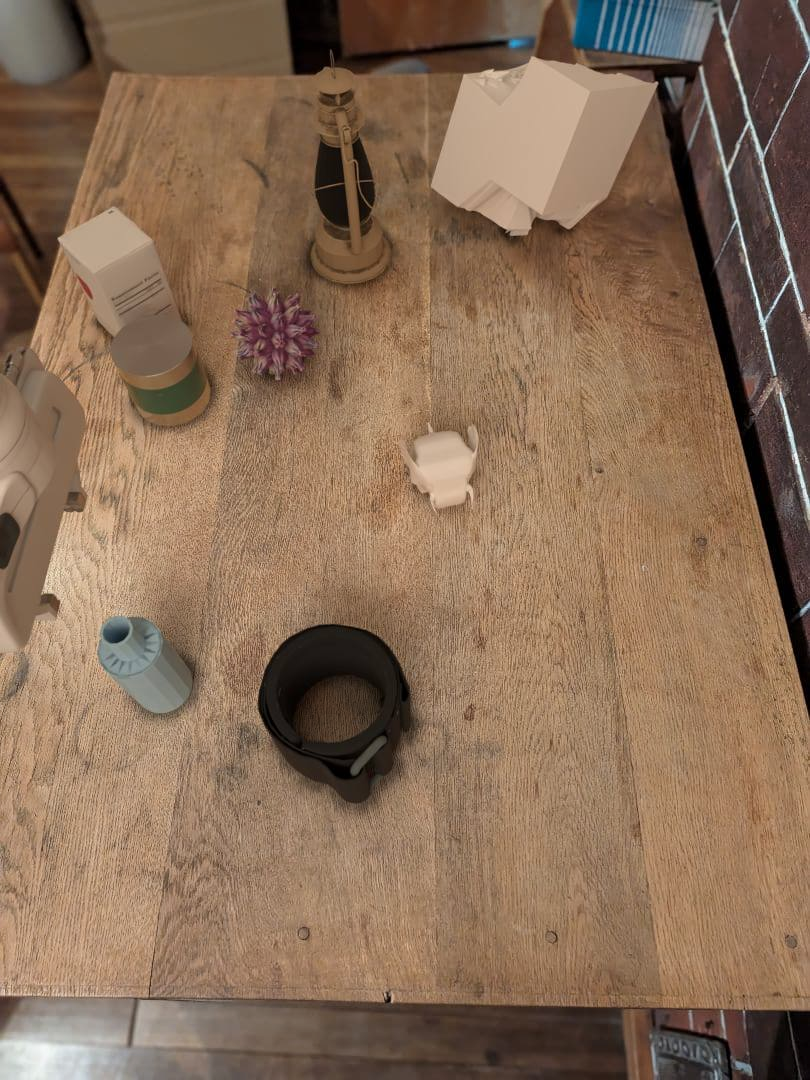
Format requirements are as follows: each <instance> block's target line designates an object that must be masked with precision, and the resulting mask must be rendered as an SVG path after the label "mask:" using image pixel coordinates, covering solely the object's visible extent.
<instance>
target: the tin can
mask: <svg viewBox="0 0 810 1080" xmlns="http://www.w3.org/2000/svg"><path fill="white" fill-rule="evenodd" d="M110 357H111V360H112V362H113V365H114V366H115V368H116V369H117V373H118V375H119V377H120V378H121V380H122V383H123V385H124V387H125V389H126V391H127V392H128V394H129V396H130V399H131V400H132V402H133V404H134V406H135V408H136V410H137V411H138V413H139V415H140V416H141V417H142V418H143V419H144V420H146V421H147V422H149V423H150V424H152V425H156V426H160V427H175V426H176V427H177V426H180V425H184V424H187V423H188V422H190V421H193V420H194V419H196V418H197V417H199V416H200V415H201V414H202V413H203V412H204V410H206V408H207V406H208V405H209V402H210V399H211V397H212V396H211V393H212V390H211V385H210V381H209V379H208V376H207V372H206V369H205V367H204V364H203V361H202V358H201V355H200V353H199V350H198V348H197V345H196V343H195V340H194V337H193V334H192V332H191V330H190V328H189V326H188V325H186V323H185V322H183V320H182V321H180V320H179V319H177V318H175V317H172V316H168V315H148V316H144V317H141V318H138V319H135V320H133V321H131V322H130V323H128V324H127V325H125V326H124V327H123V328H122V329H121V330H120V331H119V332H118V333H117V334H116V336H115V337H113V339H112V342H111V345H110Z"/></svg>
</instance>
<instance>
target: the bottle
mask: <svg viewBox="0 0 810 1080" xmlns="http://www.w3.org/2000/svg"><path fill="white" fill-rule="evenodd" d="M99 631H100V632H99V637H100V639H99V641H98V646H97V650H96V653H97V659H98V663H99V664H100V666H101V667H102V669H103V670H104V671H105V672H106V673H107V674H108V675H109V676H110V677H111V678H112V679H113V680H114V681H115V682H116V683H117V684H118V685H119V686H120V687H121V688H122V689H123V690H124V691H125V692H126V693H127V694H128V695H130V696H131V697H132V698H133V699H134V700H135V702H137V703H138V705H140V706H141V707H142V708H144V709H145V710H147V711H148V712H151V713H155V714H166V713H171V712H173V711H175V710H177V709H178V708H180V707H181V706H182V705H184V703H186V701H187V700H188V699H189V697H190V695H191V693H192V690H193V685H194V684H193V683H194V682H193V681H194V680H193V674H192V672H191V669H190V668H189V667H188V665H187V664H186V662H185V661H184V660H183V659H182V657H181V656H180V655H179V653H178V652H177V651H176V650H175V648H174V647H173V645H172V644H171V643H170V642H169V640H168V639H167V637H166V636H165V635H164V634H163V632H162V631H161V629H160V628H159V627H158V626H157V624H156V623H155V622H154V621H152V620H150V619H148V618H145V617H143V616H128V617H126V616H124V615H114V616H112V617H110V618H108V619H106V620H105V621H104V623H103V624H101V626H100V630H99Z"/></svg>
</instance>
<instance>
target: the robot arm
mask: <svg viewBox="0 0 810 1080" xmlns="http://www.w3.org/2000/svg"><path fill="white" fill-rule="evenodd" d="M86 429H87V418H86V413H85V409H84V407H83V405H82V404H81V403H80V401H79V400H78V399H77V397H76V396H75V394H74V393H73V392H72V391H71V389H70V388H69V387H68V386H67V384H66V383H65V382H64V381H63V379H61V378H60V377H59V376H58V374H56V373H55V372H52V371H51V370H46V369H45V367H44V364H43V363H42V361H41V359H40V357H39V356H38V355H37V353H36V351H35V350H34V349H32V347H28V346H26V345H20V346H17V347H16V348H15V349H12V350H9V351H8V352H7V354H6V355H5V357H4V360H3V364H2V371H1V372H0V654H9V653H17V652H18V651H20V650H23V649H24V648H25V647H27V646H28V644H29V643H30V639H31V635H32V631H33V627H34V625H35V624H34V623H35V621H41V622H43V621H46V622H47V621H48V622H50V621H51V622H54V621H57V618H58V613H59V610H60V606H61V600H60V599H58V597H57V596H56V595H55V594H54V593H43V590H44V585H45V582H46V579H47V574H48V571H49V567H50V564H51V560H52V555H53V553H54V549H55V545H56V541H57V539H58V538H57V537H58V534H59V530H60V527H61V522H62V519H63V515H64V512H65V513H74V512H76V513H83V512H84V511H85V507H86V503H87V501H88V495H89V494H87V492H86V491H85V489H84V488H83V486H82V480H81V472H80V467H79V462H78V459H79V456H80V451H81V447H82V444H83V440H84V437H85V433H86Z"/></svg>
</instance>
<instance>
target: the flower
mask: <svg viewBox="0 0 810 1080" xmlns="http://www.w3.org/2000/svg"><path fill="white" fill-rule="evenodd" d="M269 289H270V290H269V294H268V295H267V297H266V298H265V299H266V300H264V299H263V298H261V297H260V296H258V295H257V294H256V292H254V291H253V292H252V293H250V294H249V295H247V297H245V301H246V302H247V307H248V310H239V309H237V308H234V309H233V310H234V312H233V314H234V315H236V316H237V317H238V318H235V317H234V318H233V320H232V324H233V325H234V326H236V327H237V328H238V329H237V330H235V331H233V332H229V335H228V336H229V338H231V339H236V340H238V341H240V344H239V346H238V347H237V348H235V349H234V352H235V354H236V355H237V359H238V361H243V360H247V359H248V360H250V359H253V365H252V366H253V367H252V369H251V372H252V373H253V375H255V374H256V373H257V375H259V376H262V375H263V374H264V372H265V371H266V370H269V371H268V373H269V374H270V375H274V378H275V381H276V382H278V381H282V376H283V372H284V371H285V369H288V370H289V371H291V373H292V374H293V375H297V374H299V372H303V371H305V370H306V366H305V364H304V359H303V358H304V357H309V358H311V359H314V358H315V356H316V352H314V351H312V349H318V348H319V346H320V344H319V342H317V341H315V340H313V339H312V338H313V337H314V336H317V335H321V328H317V327H316V328H315V327H313V326H312V324H313V323H314V322H315V321H317V320H318V318H317V315H316V314H312V311H311V310H312V309H311V308H310V307H309V308H307V309H305V310H301V308H302V304H301V303H300V300H301V299H302V294H300V293H299V292H297V293H295V295H294V296H293V295H291V294H289V295H288V296H287V298H286V299H285V300H284V301H283V299H282V298H281V296H280V291H278V290H277V287H276V286H270V288H269ZM310 314H312V315H310ZM298 370H299V371H298Z"/></svg>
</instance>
